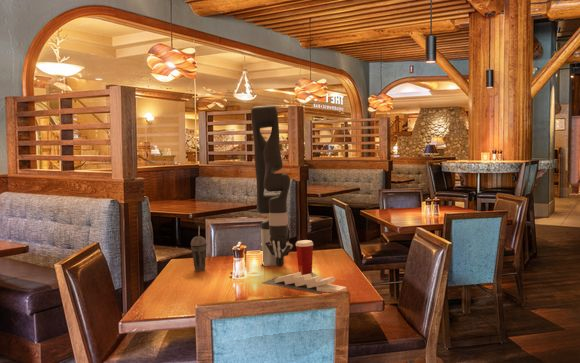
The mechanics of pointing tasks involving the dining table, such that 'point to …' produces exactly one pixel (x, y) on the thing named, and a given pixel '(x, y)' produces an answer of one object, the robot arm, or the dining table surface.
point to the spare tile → (309, 281)
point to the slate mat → (292, 286)
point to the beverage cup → (199, 252)
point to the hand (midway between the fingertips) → (280, 266)
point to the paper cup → (304, 256)
